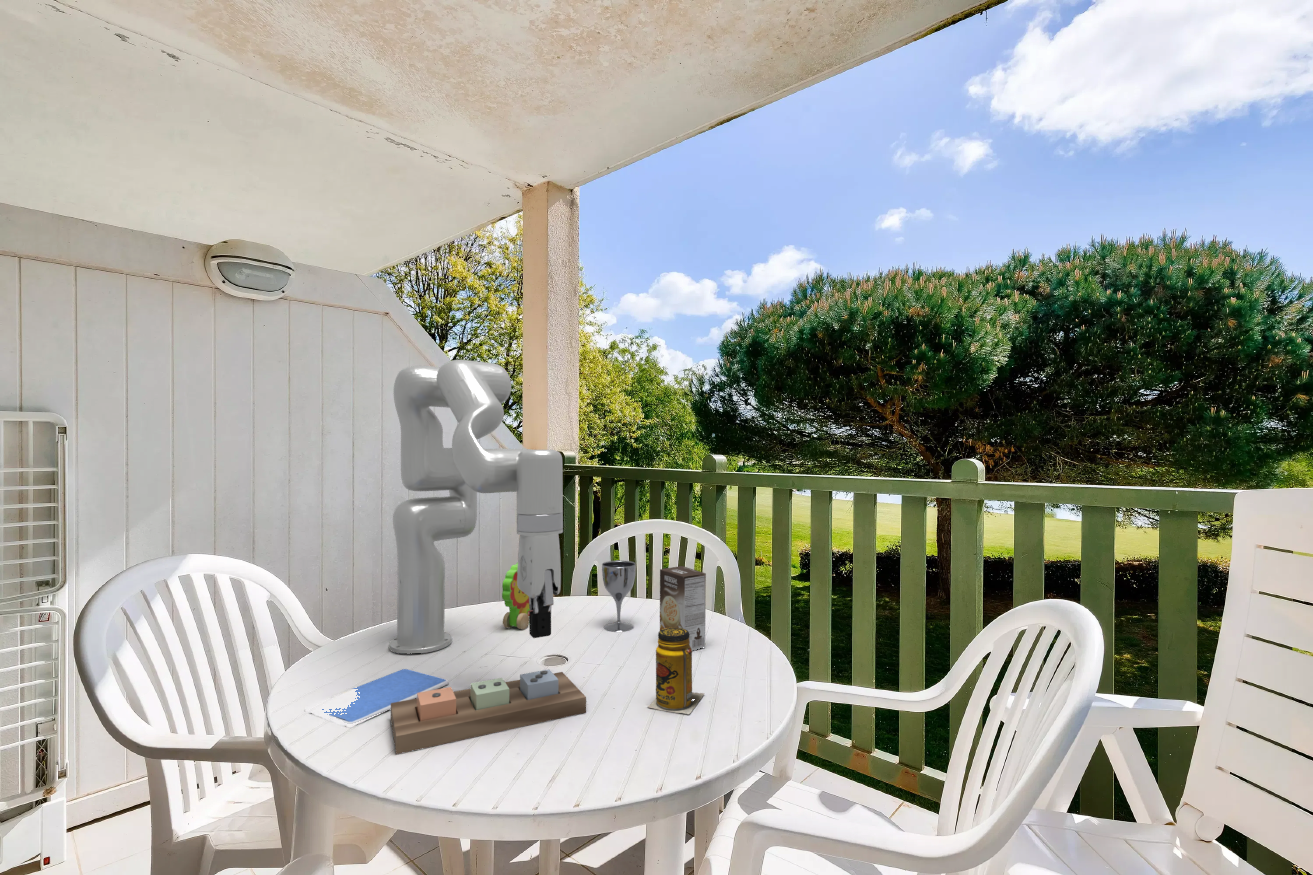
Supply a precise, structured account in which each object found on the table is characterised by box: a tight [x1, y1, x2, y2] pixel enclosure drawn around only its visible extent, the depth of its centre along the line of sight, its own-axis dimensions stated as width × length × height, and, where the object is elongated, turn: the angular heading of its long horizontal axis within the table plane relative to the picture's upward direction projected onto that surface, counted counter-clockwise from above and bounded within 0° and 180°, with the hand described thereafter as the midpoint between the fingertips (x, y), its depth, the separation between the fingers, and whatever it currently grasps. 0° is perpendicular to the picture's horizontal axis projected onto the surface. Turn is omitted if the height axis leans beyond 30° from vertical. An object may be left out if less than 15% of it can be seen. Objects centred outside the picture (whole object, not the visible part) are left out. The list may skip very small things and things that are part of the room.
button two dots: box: [470, 677, 509, 710], centre depth 94 cm, size 5×5×3 cm
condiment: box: [647, 627, 705, 715], centre depth 99 cm, size 7×8×12 cm
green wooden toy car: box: [501, 561, 533, 630], centre depth 143 cm, size 16×6×15 cm, turn 159°
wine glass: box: [601, 560, 637, 633], centre depth 140 cm, size 8×8×15 cm
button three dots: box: [519, 669, 558, 700], centre depth 97 cm, size 5×5×3 cm
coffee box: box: [659, 565, 707, 651], centre depth 127 cm, size 9×6×16 cm
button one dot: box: [417, 686, 456, 722], centre depth 90 cm, size 5×5×3 cm
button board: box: [390, 671, 587, 755], centre depth 94 cm, size 12×28×2 cm, turn 118°
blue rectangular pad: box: [322, 668, 449, 724], centre depth 101 cm, size 19×13×1 cm, turn 151°
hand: (540, 635), depth 97 cm, fingers closed
